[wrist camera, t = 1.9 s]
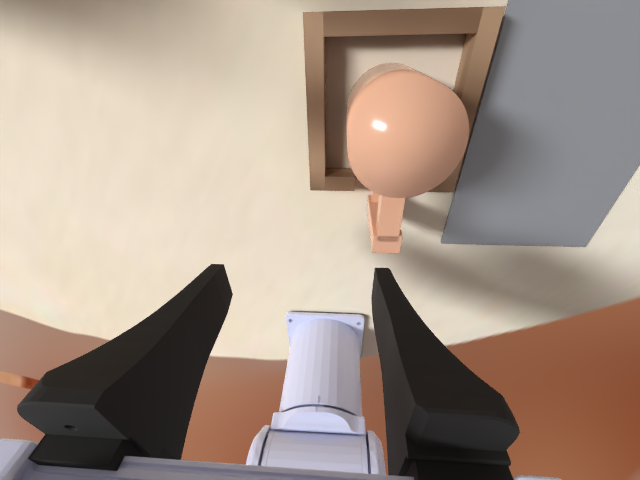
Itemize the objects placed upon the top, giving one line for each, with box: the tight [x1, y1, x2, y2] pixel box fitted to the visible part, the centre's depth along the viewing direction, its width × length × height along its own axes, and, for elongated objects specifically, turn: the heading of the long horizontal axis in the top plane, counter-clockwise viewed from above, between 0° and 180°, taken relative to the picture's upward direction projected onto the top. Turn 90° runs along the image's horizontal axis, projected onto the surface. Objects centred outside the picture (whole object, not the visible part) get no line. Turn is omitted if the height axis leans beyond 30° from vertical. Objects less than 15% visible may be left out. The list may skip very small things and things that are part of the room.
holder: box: [303, 6, 506, 192], centre depth 17 cm, size 10×10×2 cm
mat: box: [441, 0, 640, 247], centre depth 18 cm, size 16×11×1 cm
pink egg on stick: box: [346, 63, 469, 253], centre depth 16 cm, size 9×5×7 cm, turn 1°
